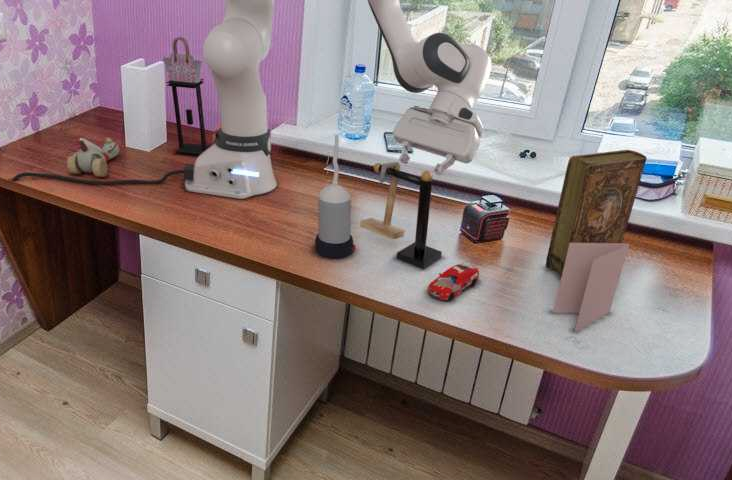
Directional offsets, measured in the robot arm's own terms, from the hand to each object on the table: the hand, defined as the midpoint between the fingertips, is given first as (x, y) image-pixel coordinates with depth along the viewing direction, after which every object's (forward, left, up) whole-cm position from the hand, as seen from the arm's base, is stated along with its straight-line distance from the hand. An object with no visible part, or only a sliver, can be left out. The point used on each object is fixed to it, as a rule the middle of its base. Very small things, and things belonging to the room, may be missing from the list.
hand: (419, 167), depth 142 cm
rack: (-3, -12, -15) cm, 19 cm away
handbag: (-63, +41, -15) cm, 76 cm away
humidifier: (-18, -13, -15) cm, 27 cm away
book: (+36, -15, -15) cm, 42 cm away
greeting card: (+32, -36, -15) cm, 51 cm away
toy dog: (-82, +24, -15) cm, 87 cm away
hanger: (-8, -11, -11) cm, 18 cm away
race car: (+7, -27, -15) cm, 31 cm away
